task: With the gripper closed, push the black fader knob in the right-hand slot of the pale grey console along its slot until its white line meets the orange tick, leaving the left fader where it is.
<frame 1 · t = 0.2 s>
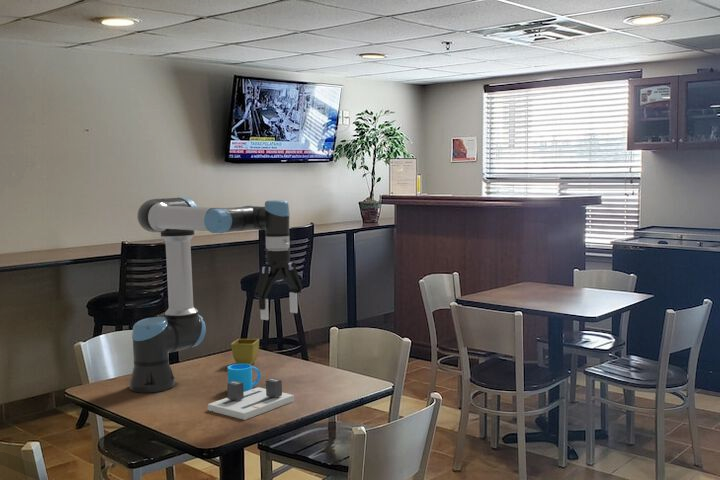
hand: (279, 316, 236), 28 cm above the table, fingers open, 13 cm apart
console: (251, 405, 234), on the table
mug: (245, 389, 253), on the table
fader A: (235, 390, 234), point 5 cm above the table, slide at -3.0 cm
flower pot: (246, 364, 286), on the table
fader B: (273, 387, 236), point 5 cm above the table, slide at 6.0 cm
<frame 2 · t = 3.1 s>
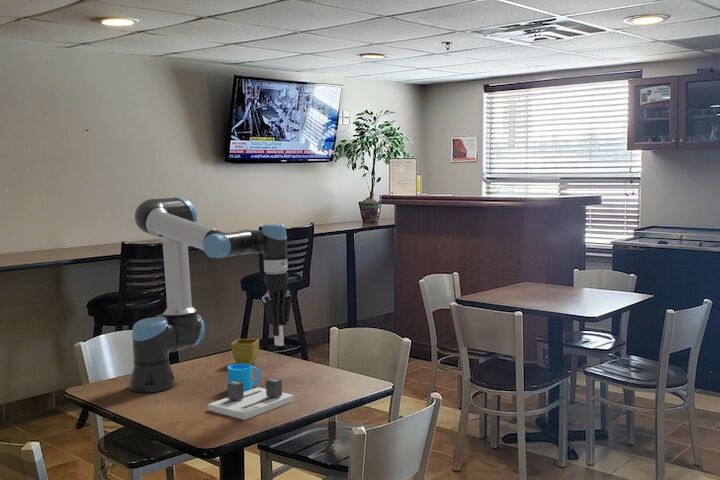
hand: (279, 345, 239), 18 cm above the table, fingers closed
nothing on the table moved.
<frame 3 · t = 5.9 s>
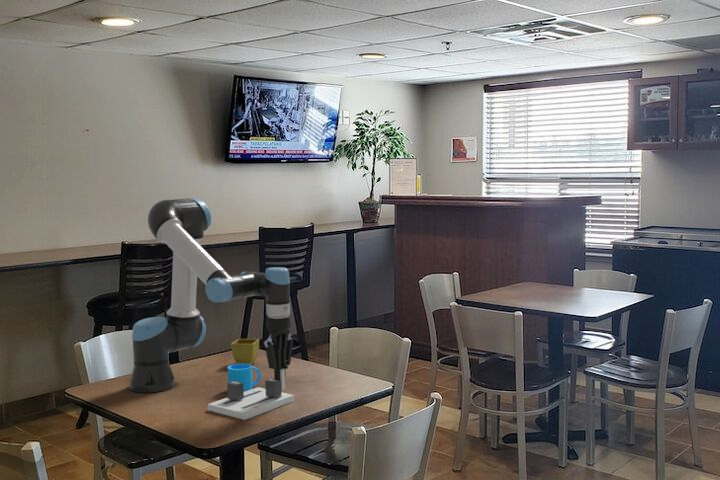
hand: (280, 388, 239), 4 cm above the table, fingers closed
fader B: (273, 387, 236), point 5 cm above the table, slide at 5.7 cm, touching gripper
everything else where it was.
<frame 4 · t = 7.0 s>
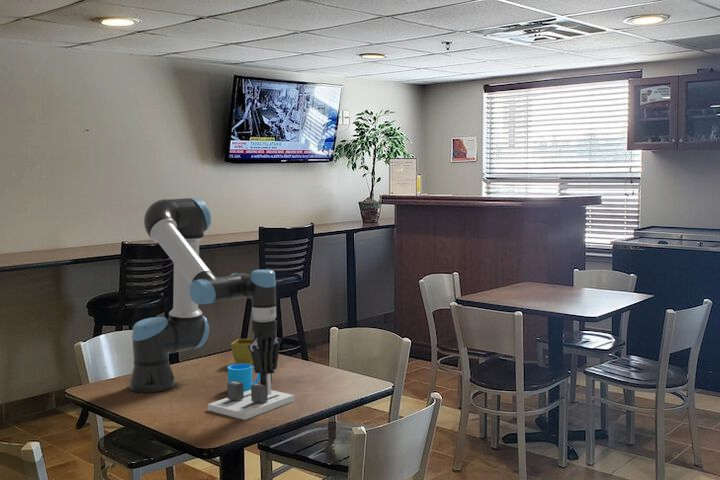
hand: (266, 393, 233), 4 cm above the table, fingers closed
fader B: (259, 392, 231), point 5 cm above the table, slide at -0.6 cm, touching gripper
everything else where it was.
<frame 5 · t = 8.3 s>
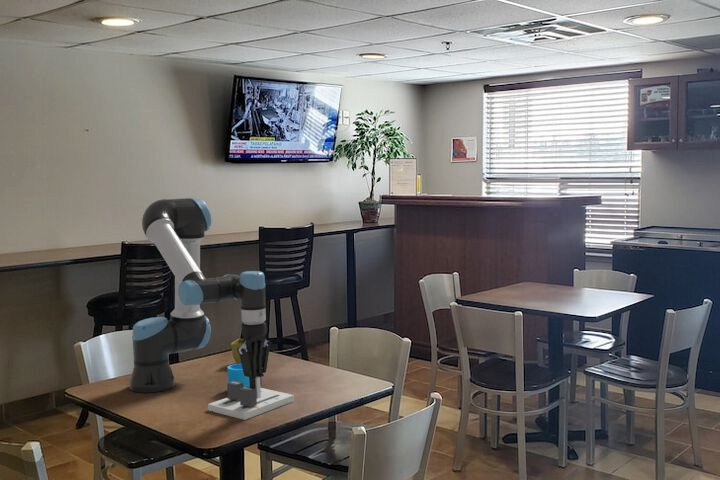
hand: (255, 397, 230), 4 cm above the table, fingers closed
fader B: (248, 396, 227), point 5 cm above the table, slide at -5.3 cm, touching gripper
everything else where it was.
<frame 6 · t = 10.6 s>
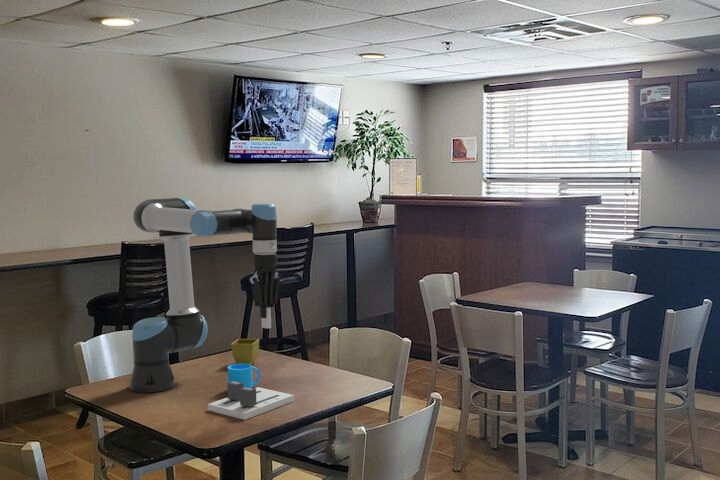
hand: (266, 327, 234), 24 cm above the table, fingers closed
fader B: (248, 396, 227), point 5 cm above the table, slide at -5.4 cm
everything else where it was.
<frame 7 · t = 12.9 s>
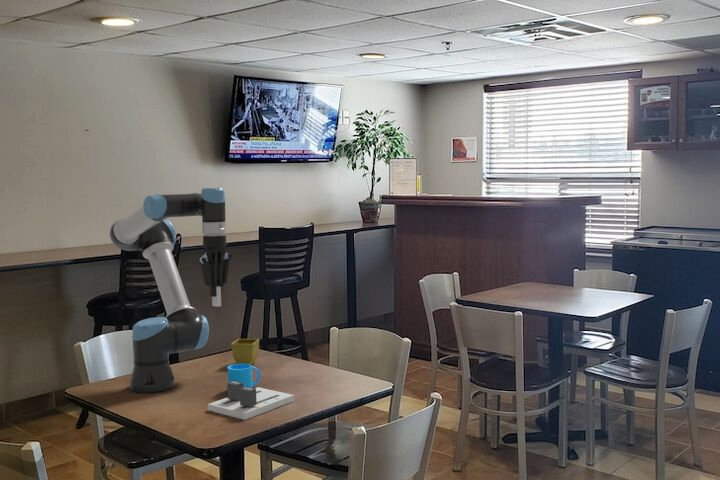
hand: (216, 305, 246), 29 cm above the table, fingers closed
nothing on the table moved.
at the end: fader B slide at -5.4 cm; fader A slide at -3.0 cm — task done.
